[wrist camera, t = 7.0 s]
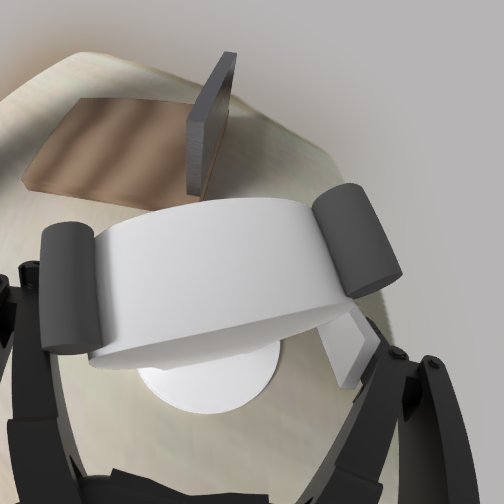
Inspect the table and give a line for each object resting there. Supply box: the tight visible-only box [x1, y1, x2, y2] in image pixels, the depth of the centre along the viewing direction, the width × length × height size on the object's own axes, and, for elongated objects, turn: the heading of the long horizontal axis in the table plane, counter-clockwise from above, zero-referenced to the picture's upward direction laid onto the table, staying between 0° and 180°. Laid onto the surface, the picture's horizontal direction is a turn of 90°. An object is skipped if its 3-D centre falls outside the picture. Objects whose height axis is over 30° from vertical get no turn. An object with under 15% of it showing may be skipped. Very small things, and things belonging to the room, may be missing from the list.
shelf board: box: [21, 98, 229, 211], centre depth 26 cm, size 20×14×2 cm
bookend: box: [186, 52, 237, 197], centre depth 22 cm, size 1×12×8 cm, turn 172°
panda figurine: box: [39, 183, 402, 414], centre depth 14 cm, size 12×11×15 cm
